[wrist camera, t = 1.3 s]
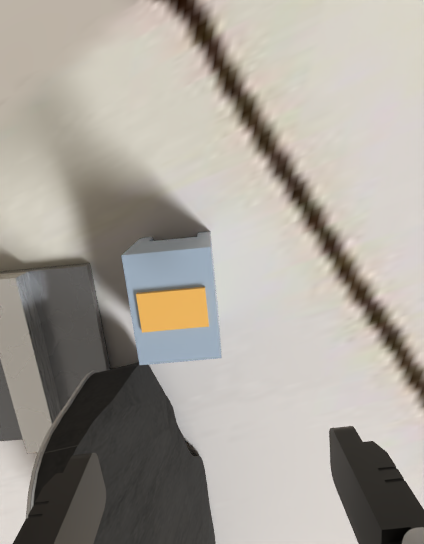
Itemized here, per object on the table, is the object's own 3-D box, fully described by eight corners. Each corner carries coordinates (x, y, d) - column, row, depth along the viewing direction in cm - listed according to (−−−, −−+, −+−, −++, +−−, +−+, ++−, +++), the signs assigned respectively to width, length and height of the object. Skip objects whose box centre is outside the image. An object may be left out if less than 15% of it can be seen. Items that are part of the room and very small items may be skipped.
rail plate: (-57, 277, 26) (-84, 287, 24) (90, 263, 26) (77, 272, 24) (-8, 435, 30) (-28, 458, 28) (120, 424, 30) (112, 446, 27)
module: (140, 237, 26) (120, 256, 20) (210, 231, 26) (210, 247, 20) (153, 326, 28) (138, 367, 22) (218, 320, 27) (221, 360, 22)
